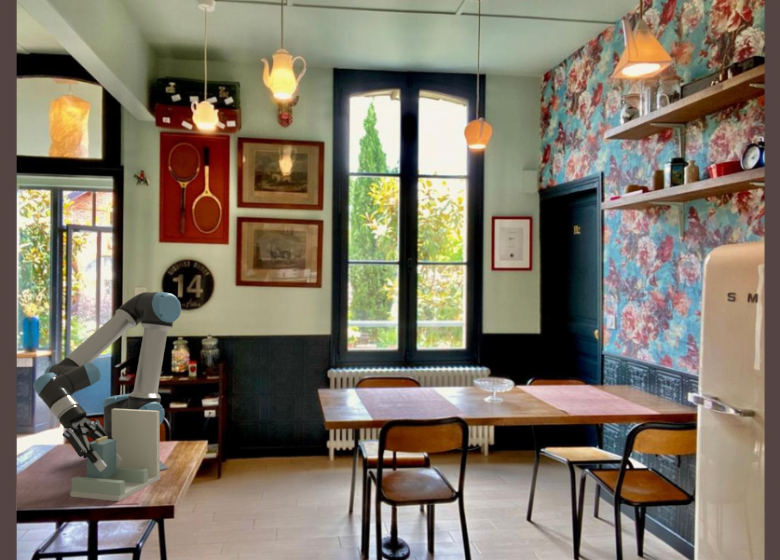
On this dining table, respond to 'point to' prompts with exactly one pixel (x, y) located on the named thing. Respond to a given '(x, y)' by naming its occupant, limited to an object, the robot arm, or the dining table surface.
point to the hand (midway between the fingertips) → (111, 465)
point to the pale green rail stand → (127, 457)
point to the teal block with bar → (103, 457)
